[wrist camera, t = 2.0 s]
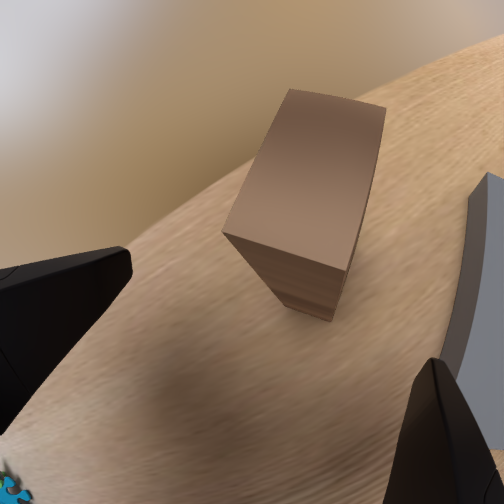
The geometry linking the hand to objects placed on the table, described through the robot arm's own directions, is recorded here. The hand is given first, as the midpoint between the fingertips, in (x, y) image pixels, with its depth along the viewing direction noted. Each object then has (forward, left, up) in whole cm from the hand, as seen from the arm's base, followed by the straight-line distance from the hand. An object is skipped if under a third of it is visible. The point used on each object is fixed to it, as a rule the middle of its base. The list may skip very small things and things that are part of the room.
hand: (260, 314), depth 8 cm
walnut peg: (+4, 0, -11) cm, 11 cm away
